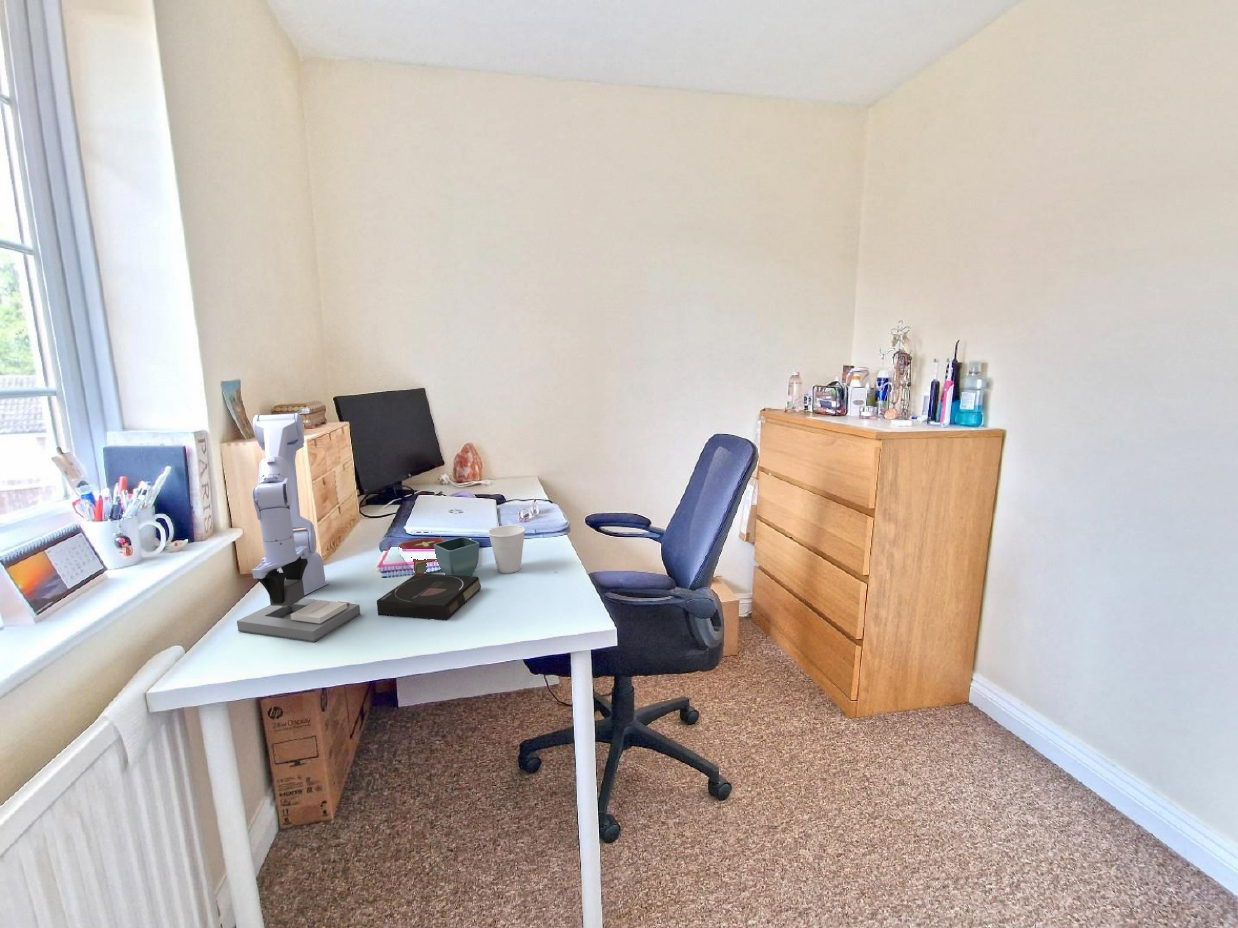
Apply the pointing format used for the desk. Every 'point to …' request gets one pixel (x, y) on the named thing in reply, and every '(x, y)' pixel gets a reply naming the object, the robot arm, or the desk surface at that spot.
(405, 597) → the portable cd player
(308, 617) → the shutter
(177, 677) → the desk surface
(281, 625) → the socket plate
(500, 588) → the desk surface
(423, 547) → the hardcover book
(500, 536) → the cup
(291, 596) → the plug
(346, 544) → the desk surface
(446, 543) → the flower pot
